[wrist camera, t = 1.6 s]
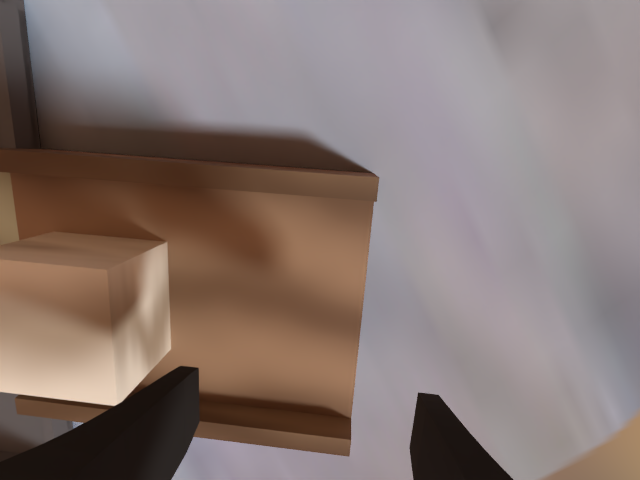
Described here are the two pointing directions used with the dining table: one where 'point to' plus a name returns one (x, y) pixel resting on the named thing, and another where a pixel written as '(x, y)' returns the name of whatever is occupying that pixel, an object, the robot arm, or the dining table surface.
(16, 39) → the grey flat board
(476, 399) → the dining table surface
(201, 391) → the brown tray with rims
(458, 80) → the dining table surface
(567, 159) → the dining table surface
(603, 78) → the dining table surface
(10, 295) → the cream block
